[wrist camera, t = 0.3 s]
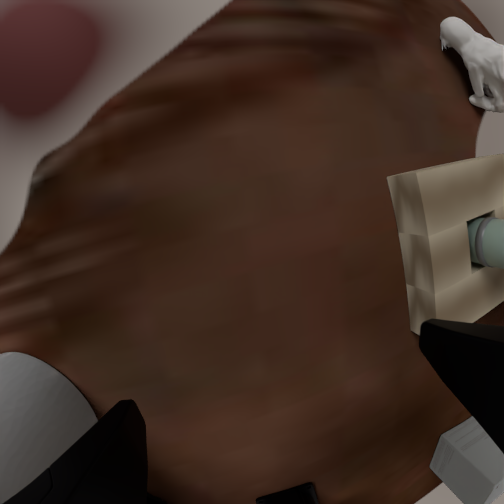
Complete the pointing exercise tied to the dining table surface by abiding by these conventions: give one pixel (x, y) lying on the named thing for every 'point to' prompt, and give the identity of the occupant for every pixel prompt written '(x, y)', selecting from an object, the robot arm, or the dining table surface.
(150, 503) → the end cap
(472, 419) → the supplement box
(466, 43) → the white rounded figure
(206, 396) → the dining table surface
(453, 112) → the dining table surface
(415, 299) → the square hole wooden block
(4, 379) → the utensil holder
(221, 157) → the dining table surface
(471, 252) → the plug
